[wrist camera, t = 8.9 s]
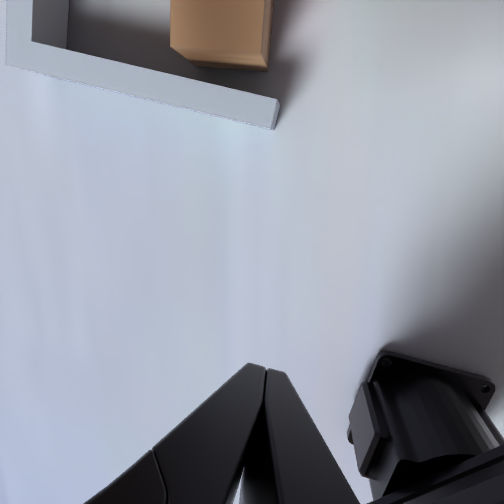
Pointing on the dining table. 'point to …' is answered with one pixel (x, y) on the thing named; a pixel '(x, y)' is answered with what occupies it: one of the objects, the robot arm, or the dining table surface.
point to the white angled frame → (117, 68)
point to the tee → (222, 32)
